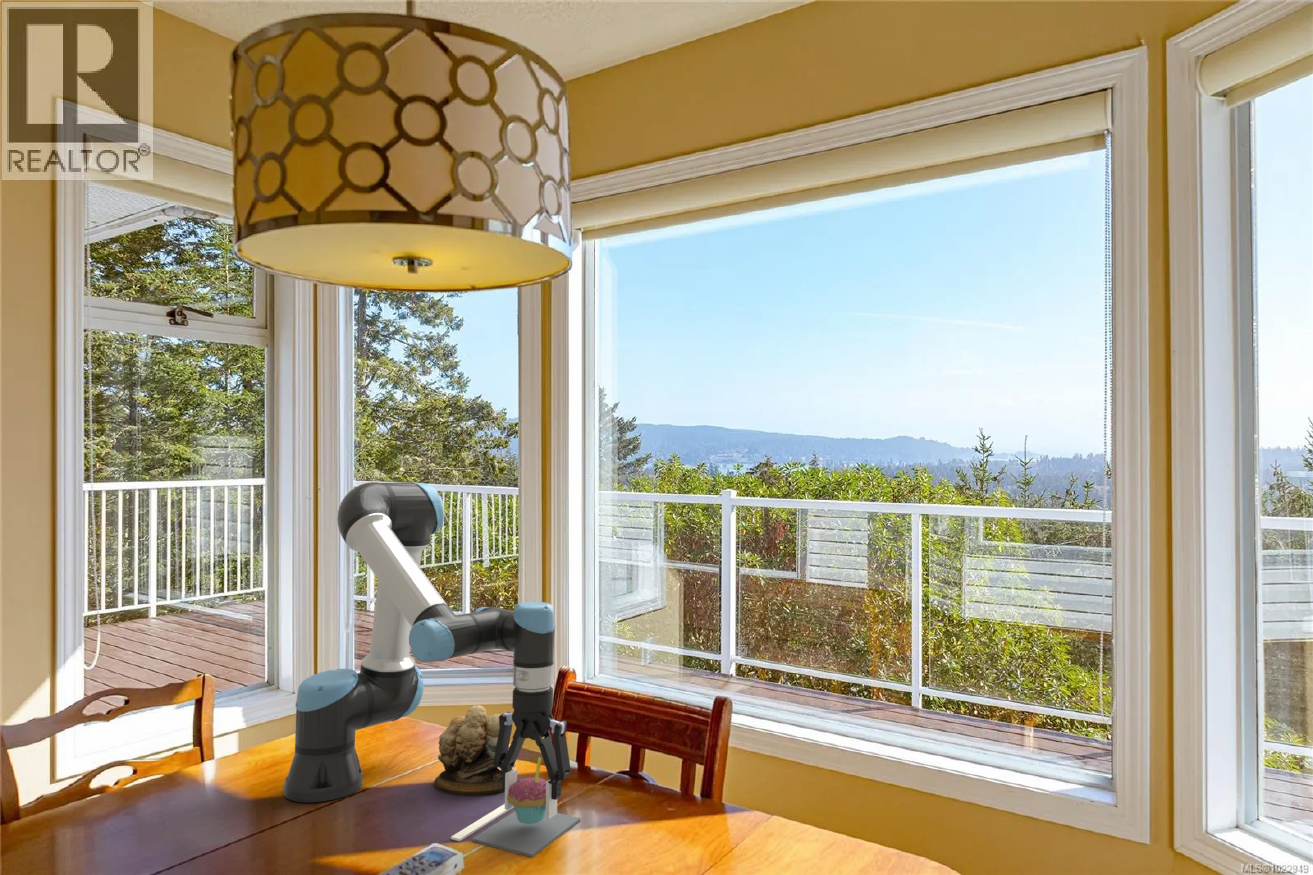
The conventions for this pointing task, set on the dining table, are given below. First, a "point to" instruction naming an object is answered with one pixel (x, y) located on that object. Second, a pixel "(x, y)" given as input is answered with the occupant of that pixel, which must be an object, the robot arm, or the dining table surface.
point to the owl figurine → (470, 755)
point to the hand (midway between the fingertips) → (530, 811)
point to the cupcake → (529, 798)
